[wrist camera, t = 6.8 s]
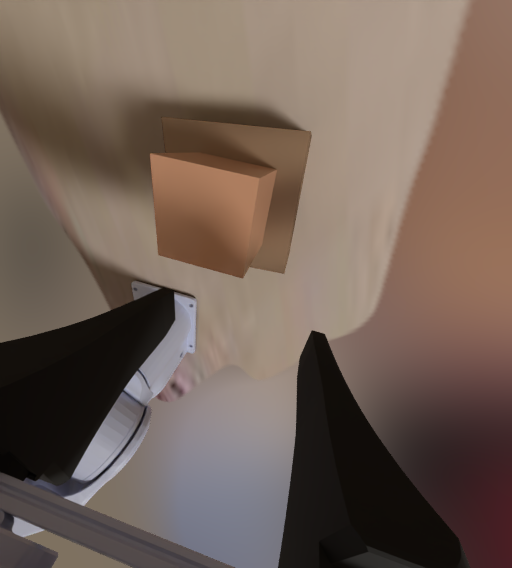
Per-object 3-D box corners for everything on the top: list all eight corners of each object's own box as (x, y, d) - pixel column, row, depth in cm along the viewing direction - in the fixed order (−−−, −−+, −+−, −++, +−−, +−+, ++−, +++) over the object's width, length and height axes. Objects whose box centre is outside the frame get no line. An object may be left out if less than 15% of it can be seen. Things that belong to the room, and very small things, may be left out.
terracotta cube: (261, 245, 16) (242, 278, 12) (198, 228, 16) (158, 255, 12) (277, 169, 13) (259, 178, 9) (200, 152, 14) (149, 153, 10)
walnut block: (289, 253, 20) (284, 273, 17) (198, 237, 21) (176, 252, 18) (311, 135, 15) (310, 131, 12) (192, 123, 17) (161, 116, 13)
